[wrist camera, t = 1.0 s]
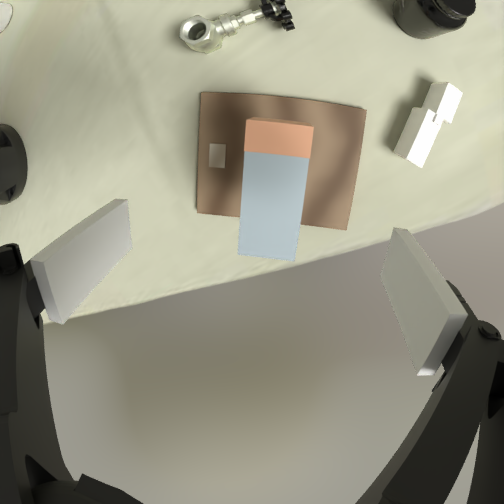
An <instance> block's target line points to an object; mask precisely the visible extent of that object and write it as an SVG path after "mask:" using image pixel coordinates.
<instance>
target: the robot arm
mask: <svg viewBox="0 0 504 504" xmlns="http://www.w3.org/2000/svg"><path fill="white" fill-rule="evenodd" d="M26 179H27V158H26V152H25V149H24V145H23V143H22V140H21V138H20V136H19V135H18V133H17V132H16V131H15V130H14V129H13V128H12V127H10V126H8V125H0V205H4V204H8V203H10V202H12V201H13V200H15V199H17V198H18V197H19V196H20V195H21V193H22V191H23V189H24V187H25V183H26ZM131 249H132V239H131V230H130V221H129V210H128V200H127V199H114V200H113V201H111V202H110V203H108V204H106V205H105V206H103V207H102V208H100V209H99V210H97V211H96V212H94V213H93V214H91V215H90V216H88V217H87V218H85V219H84V220H83V221H81V222H80V223H78V224H77V225H75V226H74V227H72V228H71V229H70V230H68V231H67V232H65V233H64V234H63V235H61V236H60V237H59V238H57V239H56V240H55V241H53V242H52V243H50V244H49V245H48V246H46V247H45V248H44V249H43V250H41V251H40V252H39V253H37V254H36V255H35V256H34V257H32V258H31V259H30V260H29V261H28V262H27V263H25V264H23V260H22V256H21V253H20V249H19V245H17V244H14V243H11V244H6V245H3V246H1V247H0V504H143V503H141V502H140V501H138V500H136V499H135V498H133V497H132V496H130V495H128V494H127V493H125V492H124V491H122V490H120V489H118V488H115V487H112V486H110V485H107V484H105V483H102V482H100V481H98V480H95V479H93V478H91V477H89V476H86V475H84V474H82V475H81V477H80V479H79V481H74V480H73V478H72V476H71V475H70V473H69V471H68V469H67V468H66V466H65V464H64V461H63V458H62V455H61V451H60V447H59V443H58V439H57V434H56V429H55V424H54V419H53V414H52V408H51V402H50V395H49V389H48V381H47V373H46V363H45V352H44V336H43V320H42V317H41V314H40V313H41V312H42V311H43V310H44V309H46V312H47V314H48V317H49V320H51V321H54V322H57V323H60V324H64V323H65V321H66V320H67V319H68V318H69V317H70V316H71V314H72V313H73V312H74V311H75V310H76V309H77V307H78V306H79V305H80V304H81V303H82V302H83V301H84V300H85V298H86V297H87V296H88V295H89V294H90V293H91V292H92V291H93V289H94V288H95V287H96V286H97V285H98V284H99V283H100V282H101V281H102V280H103V278H104V277H105V276H106V275H107V274H108V273H109V272H110V271H111V270H112V269H113V268H114V267H115V266H116V265H117V264H118V263H119V261H120V260H121V259H122V258H123V257H124V256H125V255H126V254H127V253H128V252H129V251H130V250H131ZM380 278H381V280H382V282H383V285H384V288H385V290H386V292H387V295H388V297H389V300H390V302H391V305H392V307H393V309H394V312H395V315H396V318H397V320H398V323H399V325H400V328H401V331H402V333H403V336H404V339H405V342H406V344H407V347H408V350H409V353H410V356H411V359H412V362H413V365H414V368H415V371H416V374H417V375H434V374H435V373H436V371H437V370H438V368H439V366H440V364H441V363H442V365H443V367H444V370H445V372H444V373H443V375H442V376H441V378H440V379H439V381H438V382H437V384H436V385H435V387H434V388H433V390H432V392H433V393H432V395H431V397H430V398H429V400H428V402H427V404H426V405H425V408H424V409H423V411H422V412H421V414H420V416H419V417H418V419H417V421H416V422H415V424H414V426H413V427H412V429H411V430H410V432H409V433H408V435H407V437H406V438H405V440H404V441H403V443H402V444H401V446H400V447H399V449H398V450H397V451H396V453H395V454H394V456H393V457H392V459H391V460H390V461H389V462H388V464H387V465H386V467H385V468H384V469H383V471H382V472H381V473H380V474H379V476H378V477H377V478H376V480H375V481H374V482H373V483H372V485H371V486H370V487H369V488H368V490H367V491H366V492H365V493H364V494H363V495H362V497H361V498H360V499H359V500H358V501H357V502H356V503H355V504H444V502H445V500H446V499H447V497H448V495H449V493H450V491H451V489H452V487H453V485H454V483H455V481H456V479H457V477H458V475H459V473H460V471H461V469H462V467H463V464H464V462H465V460H466V457H467V455H468V453H469V450H470V448H471V445H472V443H473V441H474V437H475V435H476V433H477V429H478V427H479V424H480V431H479V440H478V448H477V455H476V461H475V467H474V473H473V478H472V483H471V488H470V493H469V497H468V501H467V504H504V340H502V339H501V335H500V333H499V331H498V330H497V329H496V328H495V327H494V326H493V325H491V324H490V323H488V322H485V321H481V320H478V319H477V318H476V316H475V315H474V313H473V311H472V310H471V308H470V307H469V305H468V304H467V303H466V301H465V299H464V298H463V297H462V295H461V294H460V292H459V291H458V289H457V288H456V287H455V286H454V285H453V284H451V283H450V282H449V281H447V280H445V279H444V278H443V276H442V275H441V273H440V272H439V270H438V269H437V268H436V266H435V265H434V264H433V262H432V261H431V260H430V258H429V257H428V255H427V254H426V253H425V251H424V250H423V249H422V247H421V246H420V245H419V244H418V242H417V241H416V240H415V239H414V237H413V236H412V235H411V233H410V232H409V231H408V230H407V229H401V228H393V232H392V236H391V240H390V243H389V247H388V251H387V255H386V258H385V262H384V265H383V269H382V272H381V275H380Z"/></svg>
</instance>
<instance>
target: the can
mask: <svg viewBox="0 0 504 504" xmlns="http://www.w3.org/2000/svg"><path fill="white" fill-rule="evenodd" d="M12 13H13V8H12V6H11V4H8V3H1V2H0V32H2V31H3V30H4V29H5V28H6V27H7V25H8V24H9V22H10V20H11V17H12Z"/></svg>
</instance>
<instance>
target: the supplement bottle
mask: <svg viewBox="0 0 504 504" xmlns="http://www.w3.org/2000/svg"><path fill="white" fill-rule="evenodd" d="M475 5H476V3H475V0H396V1H395V2H394V5H393V14H394V18H395V20H396V22H397V23H398V25H399V26H400V27H401V28H402V30H404V31H405V32H406V33H407V34H409V35H411V36H413V37H415V38H418V39H429V38H433V37H436V36H439V35H442V34H445V33H448V32H451V31H455V30H458V29H460V28H461V27H463V26H464V24H465V23H466V21H467V17H468V16H471V15H472V14H473V13H474V11H475V8H476V6H475Z"/></svg>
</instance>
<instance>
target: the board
mask: <svg viewBox="0 0 504 504" xmlns="http://www.w3.org/2000/svg"><path fill="white" fill-rule="evenodd" d="M366 111H367V110H364V109H359V108H354V107H349V106H344V105H338V104H332V103H326V102H319V101H312V100H305V99H297V98H289V97H279V96H269V95H256V94H240V93H214V92H201V106H200V125H199V149H198V184H197V213H202V214H212V215H222V216H231V217H240V212H241V197H242V182H243V168H244V154H245V151H244V143H245V130H246V120H247V119H250V118H253V117H258V118H269V119H279V120H288V121H297V122H304V123H309V124H311V125H312V126H313V127H314V131H313V139H312V147H311V155H310V158H309V165H308V173H307V181H306V188H305V195H304V202H303V209H302V216H301V223H300V224H301V225H309V226H317V227H325V228H333V229H340V230H347V225H348V220H349V215H350V210H351V205H352V200H353V195H354V189H355V184H356V178H357V173H358V167H359V160H360V154H361V148H362V141H363V134H364V127H365V119H366Z"/></svg>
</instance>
